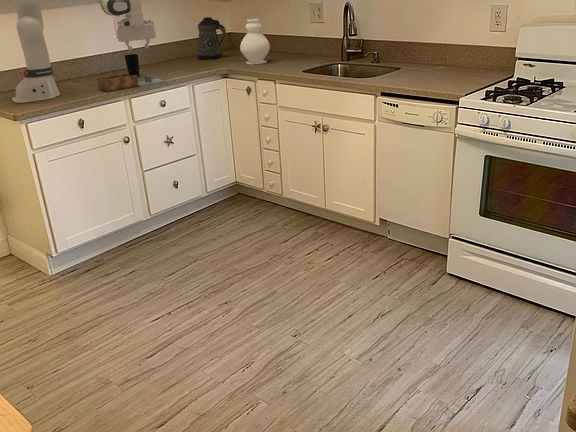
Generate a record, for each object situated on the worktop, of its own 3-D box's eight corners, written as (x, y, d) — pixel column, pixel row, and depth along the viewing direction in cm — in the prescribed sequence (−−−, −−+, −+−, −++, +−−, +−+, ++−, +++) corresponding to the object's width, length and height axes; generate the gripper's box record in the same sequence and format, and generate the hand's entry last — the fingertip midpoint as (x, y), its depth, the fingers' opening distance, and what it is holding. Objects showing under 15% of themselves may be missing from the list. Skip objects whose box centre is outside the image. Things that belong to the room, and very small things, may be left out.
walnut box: (107, 92, 300) (105, 80, 297) (99, 89, 308) (97, 77, 305) (138, 86, 309) (136, 75, 307) (129, 84, 317) (127, 72, 315)
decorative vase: (270, 64, 352) (267, 20, 342) (240, 65, 352) (236, 21, 342) (271, 59, 368) (268, 17, 358) (242, 60, 369) (239, 18, 359)
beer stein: (195, 57, 392) (190, 17, 382) (224, 54, 397) (220, 15, 386) (199, 61, 377) (195, 19, 367) (229, 58, 382) (225, 17, 372)
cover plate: (140, 87, 311) (138, 79, 309) (133, 85, 317) (132, 77, 315) (164, 82, 319) (163, 74, 317) (157, 80, 325) (155, 73, 323)
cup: (127, 78, 333) (123, 56, 328) (127, 76, 340) (124, 54, 335) (141, 77, 334) (138, 55, 329) (141, 75, 341) (138, 53, 336)
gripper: (150, 19, 313) (153, 46, 319) (113, 22, 302) (117, 50, 308) (156, 20, 309) (159, 47, 314) (119, 23, 297) (123, 51, 303)
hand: (138, 49), depth 311 cm, fingers open, 8 cm apart
